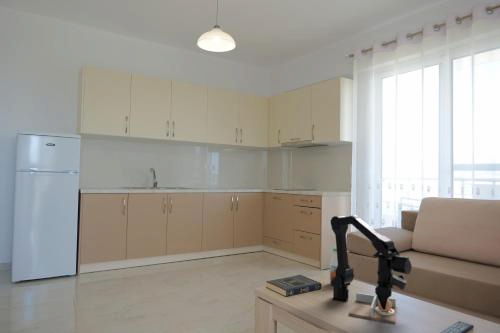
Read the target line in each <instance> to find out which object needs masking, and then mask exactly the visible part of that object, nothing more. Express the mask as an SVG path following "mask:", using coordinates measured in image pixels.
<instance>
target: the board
mask: <svg viewBox="0 0 500 333" xmlns="http://www.w3.org/2000/svg"><path fill="white" fill-rule="evenodd" d="M388 300H389V301H390V302H391V304H392V308H391V310H390V311H388V312H383V311H381V310H380V309H379V307H378V301H379V299H378V297H377V295H376V294H375V295H374V294H368V293H360V292H356V293H355V299H354V301H353V304H352V306H351V308H350V310H349V312H348V316H349V317H354V318H355V317H356V318H360V319H361V318H362V319H365V320H371V321H377V322H382V323H383V322H384V323H387V324H394V325H396V319H397V313H398V312H397V311H398V307H397V304H396V302H397V299H396V298H393V297H389V298H388Z"/></svg>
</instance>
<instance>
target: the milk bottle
mask: <svg viewBox="0 0 500 333" xmlns="http://www.w3.org/2000/svg"><path fill="white" fill-rule="evenodd" d="M332 252H333V253H332V256H331V258H330V261H329V262H330V263H329V284H330V285H331V283H330V282H331V281H332V280H333V279H334V278H335V271H336V268H337V266H338V260H337V249H336V246H335V247H333V248H332Z"/></svg>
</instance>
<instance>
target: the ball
mask: <svg viewBox="0 0 500 333" xmlns="http://www.w3.org/2000/svg"><path fill="white" fill-rule="evenodd" d="M378 307H379V309H380V310H381V311H383V312H388V311H390V310H391V308H392V304H391V302H390V301H389V300H388V299H387V303H386V308H385V309H382V307H381V304H380V302H379V301H378Z"/></svg>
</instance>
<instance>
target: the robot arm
mask: <svg viewBox="0 0 500 333" xmlns="http://www.w3.org/2000/svg"><path fill="white" fill-rule="evenodd" d="M330 225H331V230H332V231H333V233H334V235H335V247H336V249H337V260H338V266H337V268H336V271H335V278H334V279H333V280H332V281H331V282H330V281H329V284H330V283H331V284H330V286H331V287H333V289H332V290H333V294H332V295H333V296H332V300H334V301H339V302H347V301H348V300H349V298H350V289H349V288H348V287H349V286H351V284H352V282H353V281H354V278H355V274H354V268H353V267H351V266H350V265H349V259H348V258H349V257H348V246H347V245H348V244H347V231H348V229H349V225H352V226H353V227H354V228H355V229H356V230H357V231H359V232H360V233H361V234H362V235H364V236H365V237H366V238H367V239H368V240H369V241H370V243H371V245H372V246H373V248H374V249H375V250H376V252H375V253H374V254H373V255H372V256H373V257H374V258H377V274H376V275H377V280H376V282H377V283H376V284H377V285H376V286H375V288H374V290H375V291H374V293H375V296H377V297H378V299H379V302H380V304H381V307H382V309H385V308H386V303H387V299H388V298H392V293H393V288H394V286H395V287H397V288H399V289H400V290H402V291H405V288H406V285H407V280H406V279H405V278H404V277H405V276H404V275H409V274H411V272H412V262H411V261H410V257H409V256H401V254H400V253H399V251H398V250H397V249H398V248H396V247H395V243H394V241H393V240H392V239H390V238H389V237H387V236H385V235H382V234H380V233H378V232H377V231H376V229H373V228H372V227H371V226H370V225H369V224H367V223H366V221H364V220H363V219H362V218H360V215H359V216H358V215H357V214H355V215H354V214H353V215H349V216H345V215H334V216H332V218H331V219H330ZM394 272H396V273H400V274H399V275H395V274H394ZM403 274H404V275H403Z"/></svg>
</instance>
